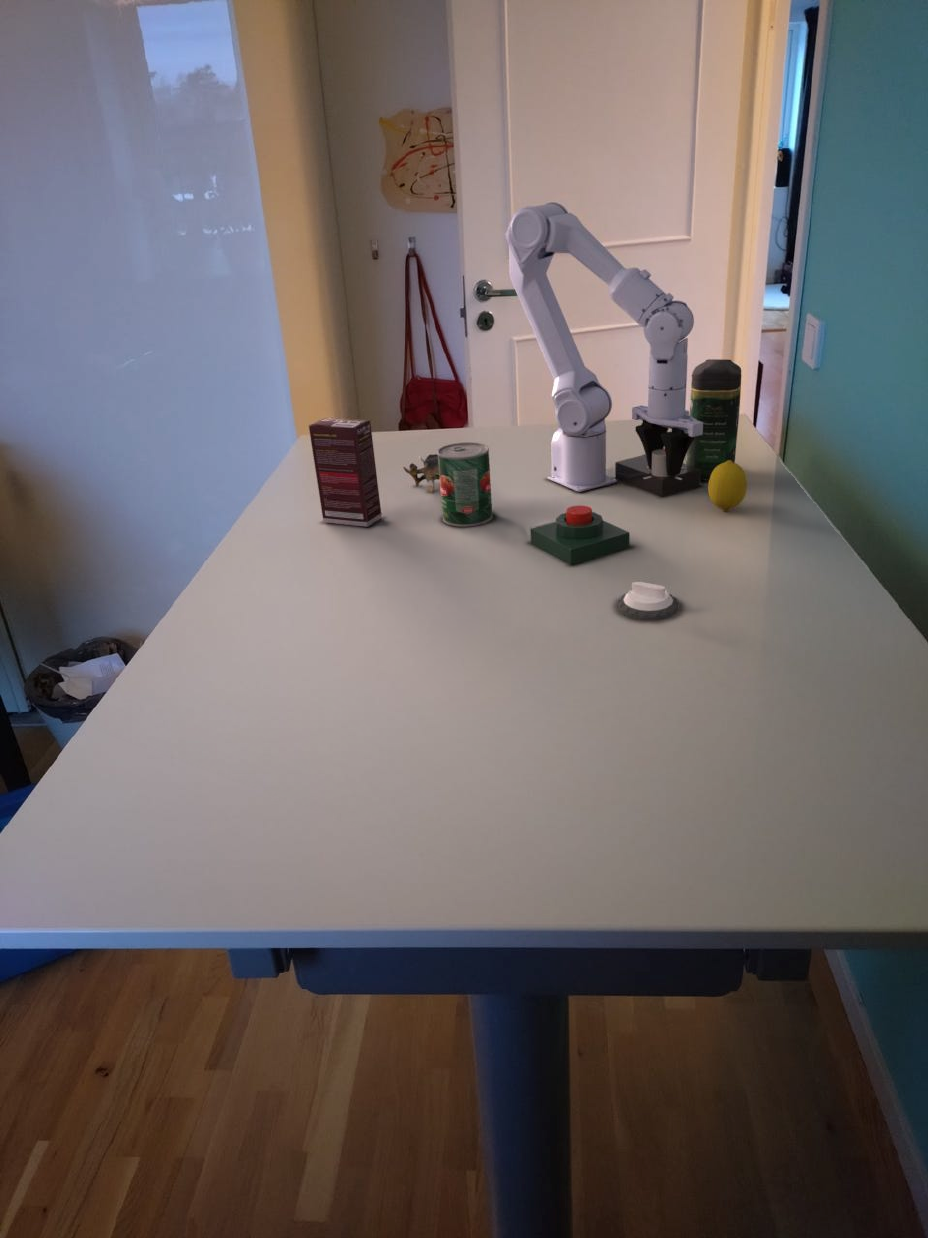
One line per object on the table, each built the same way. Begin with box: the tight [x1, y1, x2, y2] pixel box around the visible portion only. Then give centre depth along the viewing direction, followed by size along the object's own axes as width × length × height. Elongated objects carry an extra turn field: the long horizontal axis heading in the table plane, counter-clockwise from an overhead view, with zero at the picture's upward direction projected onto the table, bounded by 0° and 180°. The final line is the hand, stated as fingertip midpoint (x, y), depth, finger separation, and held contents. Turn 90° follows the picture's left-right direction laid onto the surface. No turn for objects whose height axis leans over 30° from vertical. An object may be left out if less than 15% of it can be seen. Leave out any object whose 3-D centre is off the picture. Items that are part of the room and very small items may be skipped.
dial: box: [651, 448, 671, 477], centre depth 143 cm, size 4×4×4 cm
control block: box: [530, 511, 630, 566], centre depth 127 cm, size 10×10×4 cm
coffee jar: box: [686, 358, 742, 481], centre depth 148 cm, size 10×8×19 cm
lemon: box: [707, 460, 748, 513], centre depth 134 cm, size 6×6×8 cm
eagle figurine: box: [403, 453, 440, 493], centre depth 153 cm, size 8×7×9 cm
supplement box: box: [308, 417, 382, 528], centre depth 140 cm, size 9×5×16 cm, turn 65°
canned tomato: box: [436, 441, 494, 528], centre depth 138 cm, size 8×8×11 cm
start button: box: [565, 504, 593, 525], centre depth 126 cm, size 4×4×2 cm
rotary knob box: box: [614, 454, 701, 498], centre depth 148 cm, size 14×10×3 cm
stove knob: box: [617, 581, 680, 622], centre depth 108 cm, size 7×7×3 cm
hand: (664, 471), depth 144 cm, fingers closed on dial, 4 cm apart
